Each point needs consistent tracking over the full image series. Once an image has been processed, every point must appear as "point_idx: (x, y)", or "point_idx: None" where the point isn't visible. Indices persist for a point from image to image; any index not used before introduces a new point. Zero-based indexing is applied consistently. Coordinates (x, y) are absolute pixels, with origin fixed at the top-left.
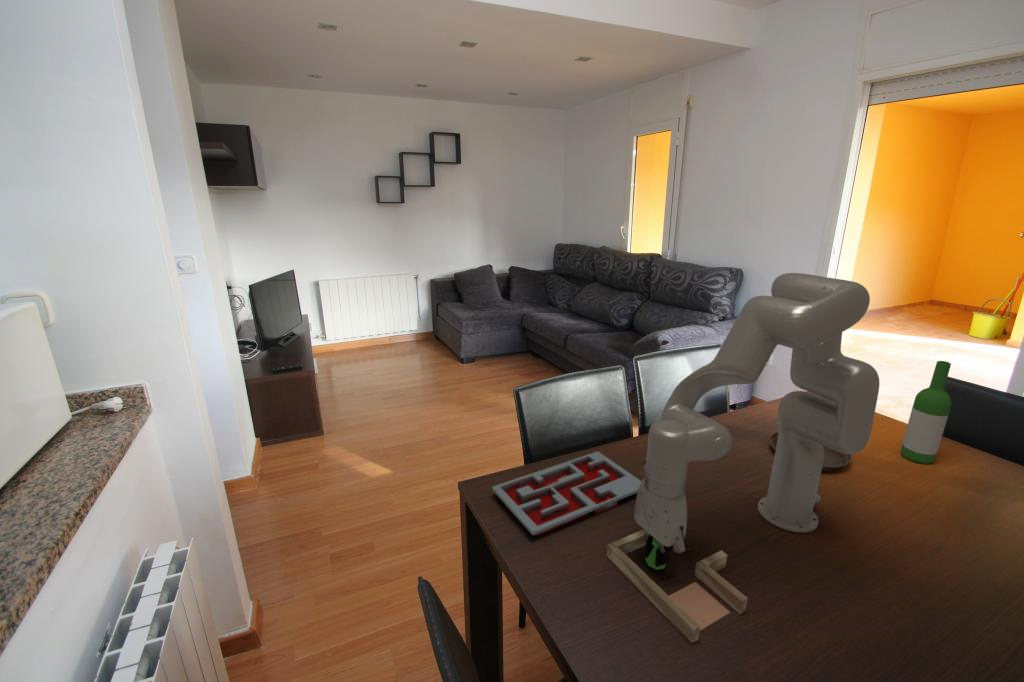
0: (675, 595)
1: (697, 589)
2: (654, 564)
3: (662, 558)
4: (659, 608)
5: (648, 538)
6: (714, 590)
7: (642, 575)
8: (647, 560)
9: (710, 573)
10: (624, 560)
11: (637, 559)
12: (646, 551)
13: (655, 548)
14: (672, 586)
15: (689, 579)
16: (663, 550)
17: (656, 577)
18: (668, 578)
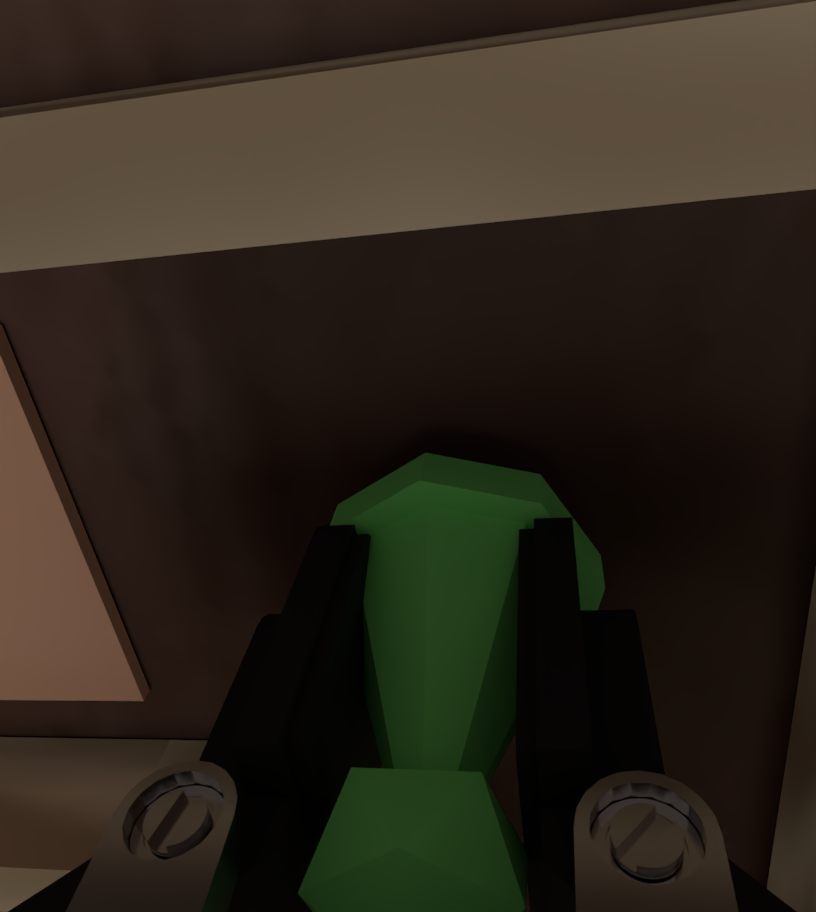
0: (6, 444)
1: (53, 659)
2: (372, 524)
3: (249, 678)
4: None
5: (576, 833)
6: (22, 751)
7: (109, 180)
8: (478, 491)
9: (26, 877)
10: (579, 61)
11: (672, 413)
12: (544, 580)
13: (420, 735)
14: (153, 499)
15: (200, 679)
16: (99, 843)
17: (315, 432)
18: (263, 534)
